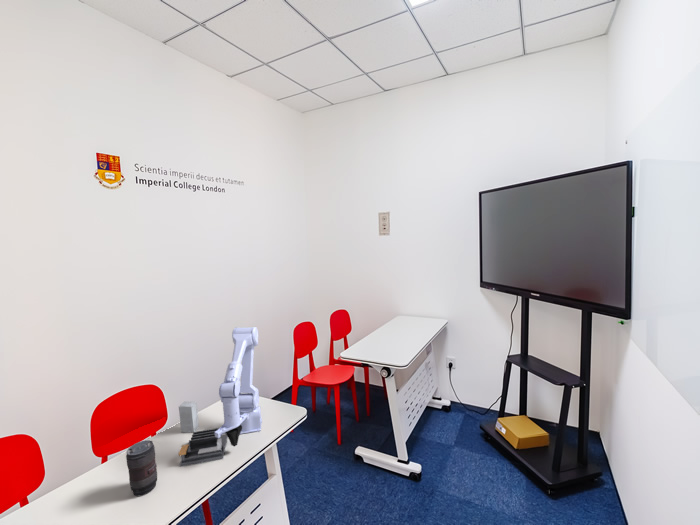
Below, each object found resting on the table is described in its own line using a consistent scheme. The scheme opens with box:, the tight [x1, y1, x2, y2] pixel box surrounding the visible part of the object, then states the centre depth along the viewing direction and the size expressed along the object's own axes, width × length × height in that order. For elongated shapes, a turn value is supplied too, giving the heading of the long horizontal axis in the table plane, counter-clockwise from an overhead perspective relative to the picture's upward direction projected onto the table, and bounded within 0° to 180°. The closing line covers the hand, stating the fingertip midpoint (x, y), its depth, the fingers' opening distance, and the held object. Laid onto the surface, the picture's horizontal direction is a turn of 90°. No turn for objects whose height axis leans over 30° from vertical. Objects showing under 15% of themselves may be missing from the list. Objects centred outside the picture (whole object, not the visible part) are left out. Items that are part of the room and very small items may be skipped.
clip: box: [198, 438, 222, 455], centre depth 127 cm, size 8×2×4 cm, turn 103°
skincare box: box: [178, 401, 200, 433], centre depth 144 cm, size 6×4×12 cm
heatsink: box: [178, 427, 229, 467], centre depth 130 cm, size 15×14×5 cm
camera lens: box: [125, 439, 158, 497], centre depth 111 cm, size 8×8×15 cm
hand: (234, 444), depth 129 cm, fingers closed
